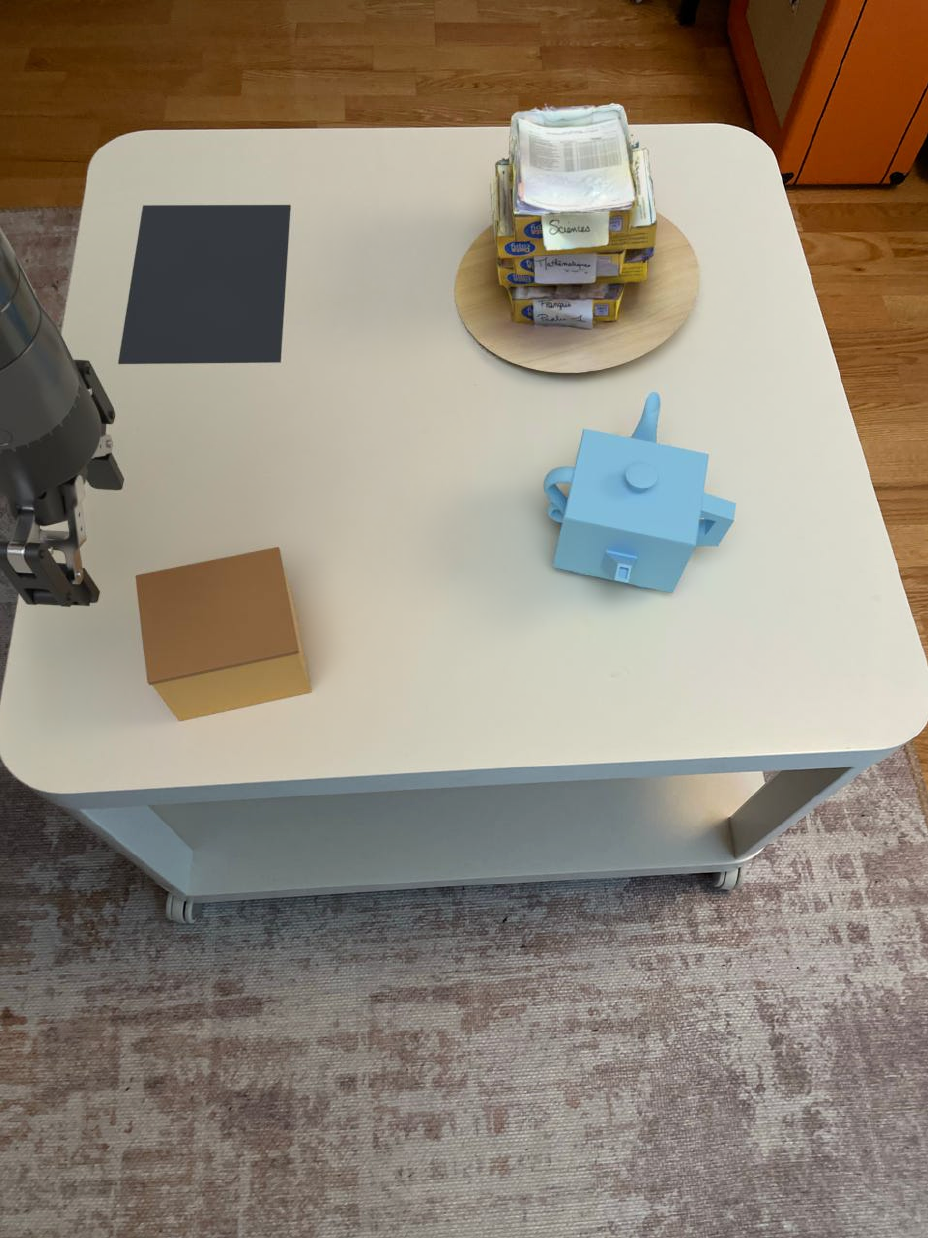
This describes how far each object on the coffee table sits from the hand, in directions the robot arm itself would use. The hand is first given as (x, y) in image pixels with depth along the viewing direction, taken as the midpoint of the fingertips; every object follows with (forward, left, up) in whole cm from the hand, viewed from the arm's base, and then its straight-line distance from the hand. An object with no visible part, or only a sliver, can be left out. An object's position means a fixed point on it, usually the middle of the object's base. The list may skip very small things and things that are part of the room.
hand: (96, 540), depth 63 cm
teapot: (+40, +10, -19) cm, 45 cm away
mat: (0, +42, -19) cm, 46 cm away
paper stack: (+38, +40, -19) cm, 59 cm away
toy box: (+6, -1, -19) cm, 20 cm away
